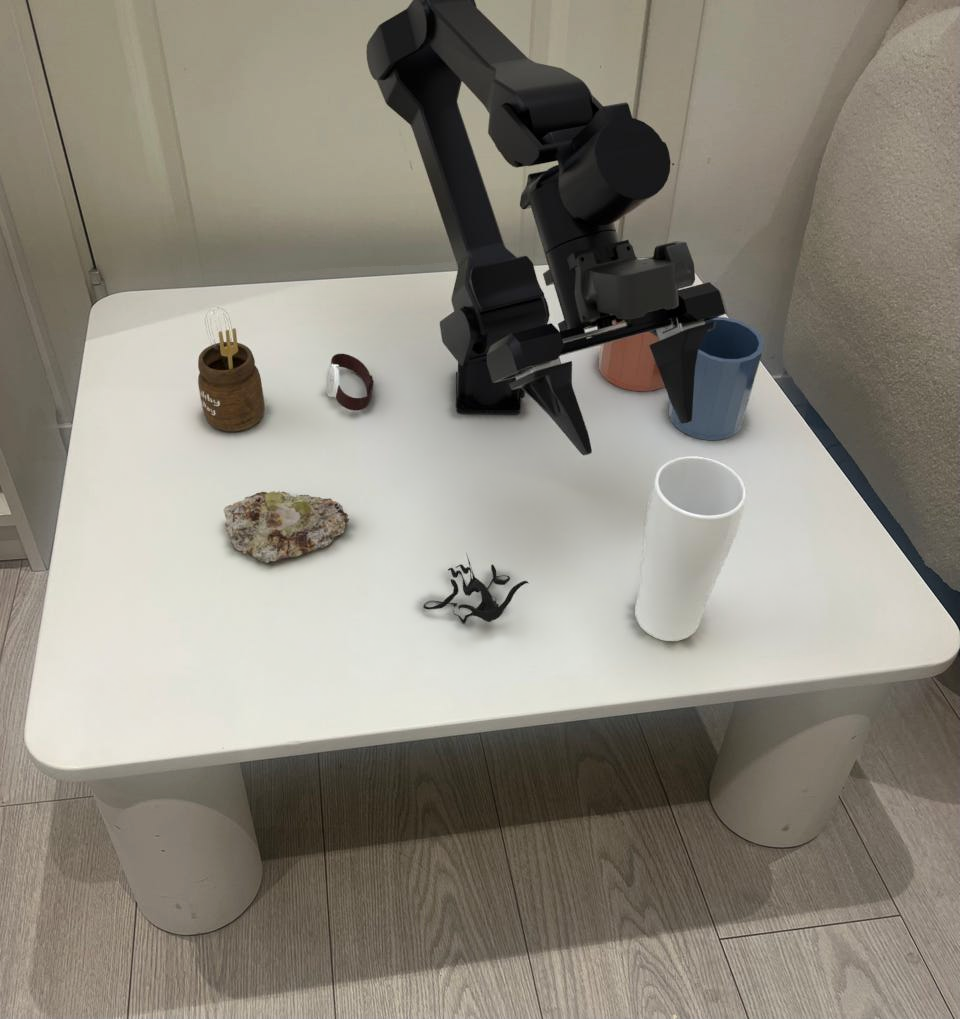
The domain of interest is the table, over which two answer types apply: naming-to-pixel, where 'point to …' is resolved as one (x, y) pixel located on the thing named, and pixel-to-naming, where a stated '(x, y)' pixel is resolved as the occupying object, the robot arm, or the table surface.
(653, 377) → the terracotta cup
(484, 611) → the creature
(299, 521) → the mineral rock
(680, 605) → the drinking glass
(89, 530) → the table surface
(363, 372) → the watch
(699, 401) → the blue tumbler
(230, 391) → the utensil holder
